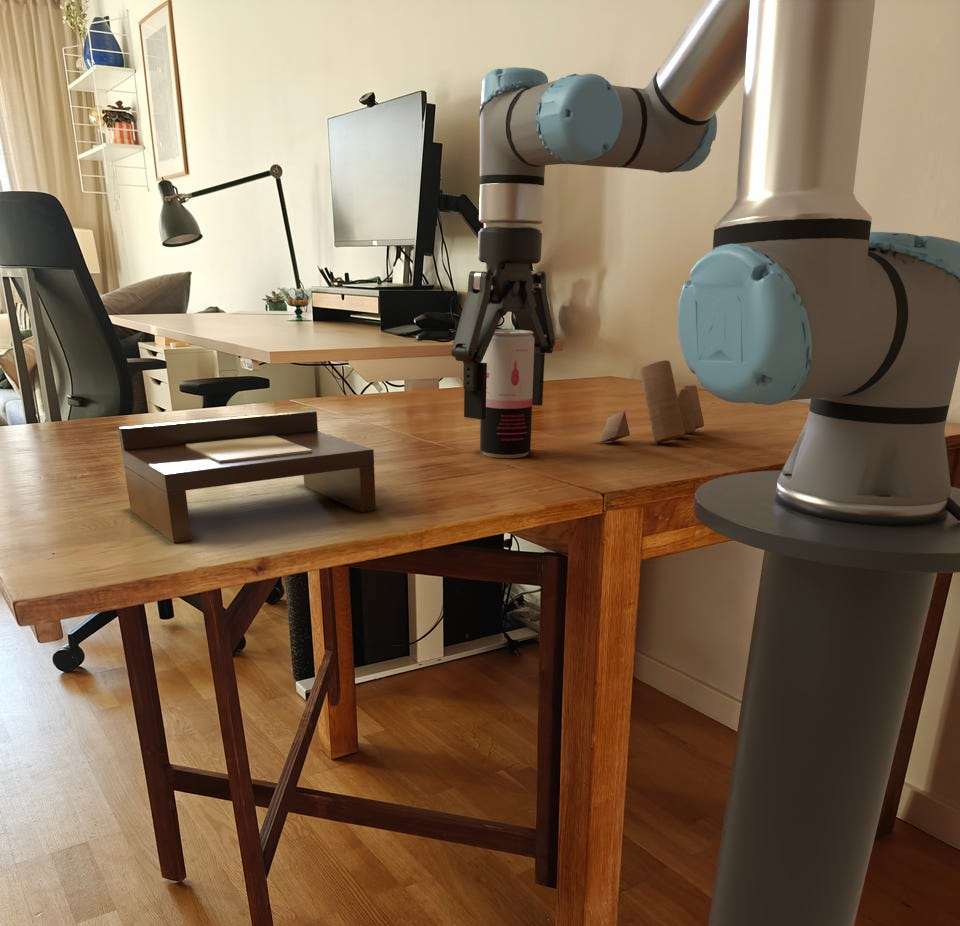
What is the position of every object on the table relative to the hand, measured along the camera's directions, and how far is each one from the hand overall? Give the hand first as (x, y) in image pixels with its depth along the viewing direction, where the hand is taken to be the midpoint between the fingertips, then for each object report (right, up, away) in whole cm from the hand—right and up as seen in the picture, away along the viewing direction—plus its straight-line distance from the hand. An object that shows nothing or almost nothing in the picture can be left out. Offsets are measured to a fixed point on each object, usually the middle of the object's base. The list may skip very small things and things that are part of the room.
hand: (504, 411), depth 110 cm
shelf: (-25, -16, -25) cm, 40 cm away
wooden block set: (+23, -1, +13) cm, 26 cm away
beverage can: (0, -5, +2) cm, 6 cm away
